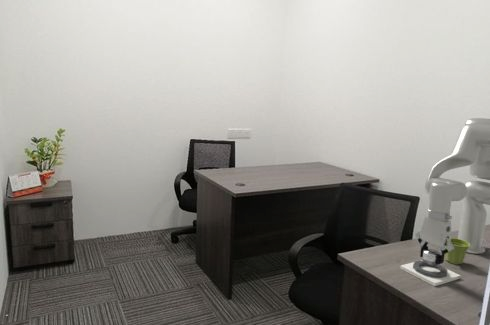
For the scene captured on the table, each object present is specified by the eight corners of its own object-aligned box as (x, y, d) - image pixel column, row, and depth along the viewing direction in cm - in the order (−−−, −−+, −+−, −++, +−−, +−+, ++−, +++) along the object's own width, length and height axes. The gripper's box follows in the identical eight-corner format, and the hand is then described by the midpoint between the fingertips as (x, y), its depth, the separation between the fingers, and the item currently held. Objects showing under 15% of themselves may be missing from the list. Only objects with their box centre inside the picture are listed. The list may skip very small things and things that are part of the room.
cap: (428, 257, 144) (430, 247, 144) (443, 263, 139) (444, 253, 138) (418, 259, 142) (420, 249, 141) (432, 266, 136) (434, 255, 136)
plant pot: (441, 254, 159) (444, 235, 158) (466, 260, 155) (469, 240, 153) (440, 262, 151) (443, 242, 150) (467, 268, 147) (470, 248, 145)
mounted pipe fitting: (424, 261, 151) (425, 256, 151) (460, 278, 138) (461, 272, 138) (399, 268, 144) (400, 262, 144) (434, 286, 131) (435, 280, 131)
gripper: (466, 221, 131) (459, 267, 134) (423, 207, 146) (418, 249, 149) (453, 223, 128) (446, 271, 131) (411, 209, 143) (405, 252, 146)
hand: (431, 259), depth 140 cm, fingers closed on cap, 6 cm apart
